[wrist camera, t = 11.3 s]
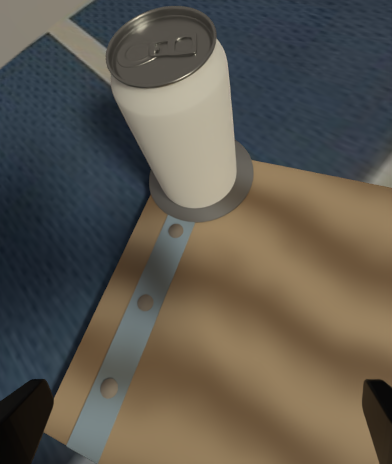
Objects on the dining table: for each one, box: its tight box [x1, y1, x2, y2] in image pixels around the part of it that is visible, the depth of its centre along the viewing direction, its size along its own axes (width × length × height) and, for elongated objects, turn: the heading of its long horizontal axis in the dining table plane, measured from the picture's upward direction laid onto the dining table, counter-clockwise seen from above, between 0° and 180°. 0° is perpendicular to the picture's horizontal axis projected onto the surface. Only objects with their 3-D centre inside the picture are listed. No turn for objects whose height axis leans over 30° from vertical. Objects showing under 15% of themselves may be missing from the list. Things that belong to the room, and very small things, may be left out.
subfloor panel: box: [44, 140, 392, 464], centre depth 22 cm, size 26×21×1 cm
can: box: [106, 6, 237, 208], centre depth 20 cm, size 6×6×12 cm
